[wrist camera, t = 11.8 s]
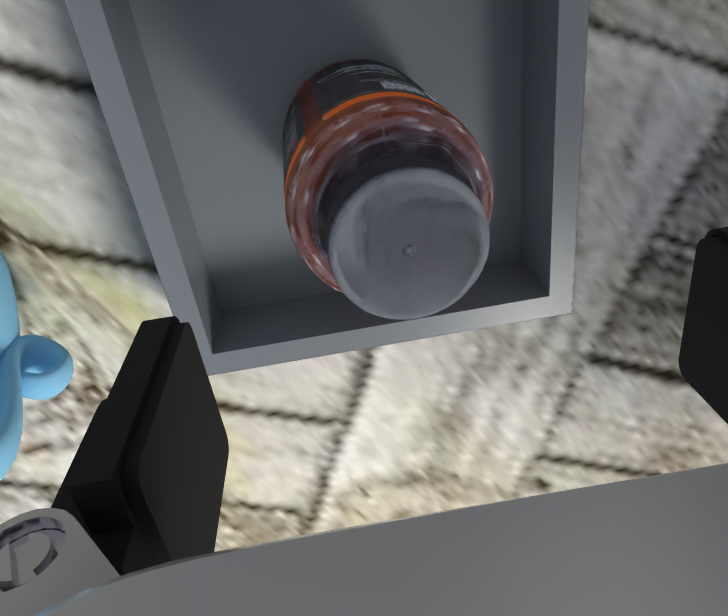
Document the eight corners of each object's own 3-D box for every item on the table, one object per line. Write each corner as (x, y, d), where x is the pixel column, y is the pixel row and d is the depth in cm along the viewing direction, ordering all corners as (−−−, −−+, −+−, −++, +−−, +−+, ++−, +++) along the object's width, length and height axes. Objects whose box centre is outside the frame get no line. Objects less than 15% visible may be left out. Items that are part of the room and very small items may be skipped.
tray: (540, -140, 21) (598, -163, 17) (533, 266, 29) (571, 312, 25) (83, -72, 20) (35, -81, 16) (206, 322, 28) (194, 378, 25)
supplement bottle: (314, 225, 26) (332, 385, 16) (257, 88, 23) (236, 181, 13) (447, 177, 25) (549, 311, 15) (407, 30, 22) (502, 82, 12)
